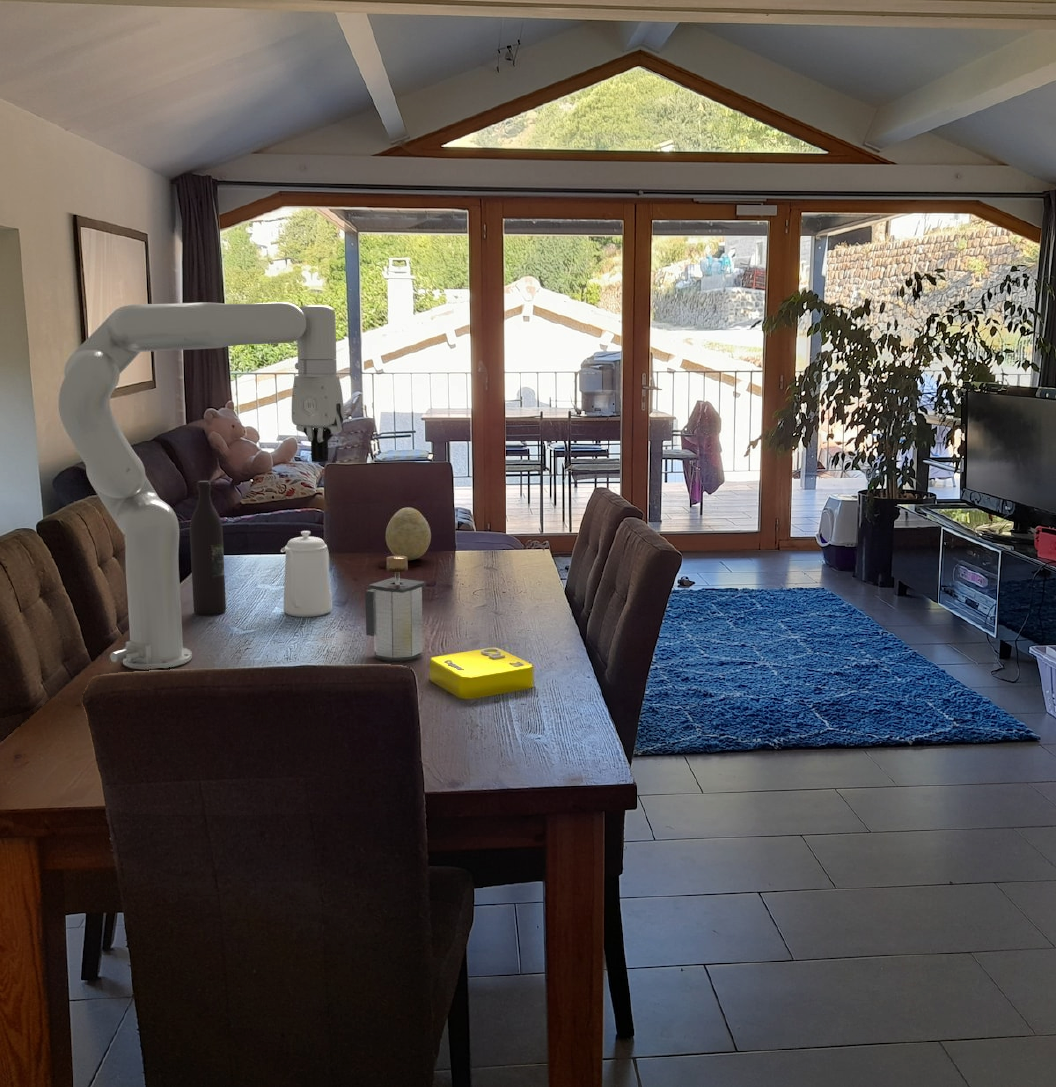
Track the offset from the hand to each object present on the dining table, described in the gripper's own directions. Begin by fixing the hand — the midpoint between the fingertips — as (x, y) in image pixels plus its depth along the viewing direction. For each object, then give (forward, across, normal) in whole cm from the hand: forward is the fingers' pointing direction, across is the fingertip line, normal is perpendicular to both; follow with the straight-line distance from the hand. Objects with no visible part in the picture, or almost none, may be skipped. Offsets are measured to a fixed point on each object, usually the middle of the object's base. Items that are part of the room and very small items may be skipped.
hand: (319, 461), depth 217 cm
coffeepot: (+37, -18, +16) cm, 44 cm away
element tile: (+38, +43, -8) cm, 58 cm away
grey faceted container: (+37, +19, -2) cm, 42 cm away
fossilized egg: (+37, -33, +78) cm, 93 cm away
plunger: (+32, +20, -2) cm, 38 cm away
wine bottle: (+37, -37, +5) cm, 53 cm away
